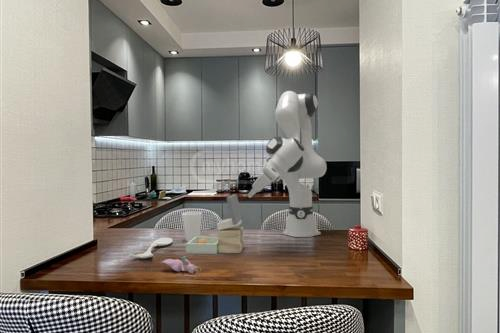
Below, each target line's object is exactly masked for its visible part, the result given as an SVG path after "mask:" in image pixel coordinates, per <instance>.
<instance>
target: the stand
mask: <svg viewBox="0 0 500 333" xmlns="http://www.w3.org/2000/svg"><path fill="white" fill-rule="evenodd" d="M217 237H218V253H220V254H221V253H222V254H241V253H242V251H243V249H244V226H235V227H230V228H226V229H222V230H218V231H217ZM218 253H217V254H218Z"/></svg>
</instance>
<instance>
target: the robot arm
mask: <svg viewBox="0 0 500 333" xmlns="http://www.w3.org/2000/svg"><path fill="white" fill-rule="evenodd" d="M318 103H319V102H318V99H317V96H316V95H315V93H313V92H305V93H299V94H297V93H296V92H295V91H292V90H286V91H284V92H283V93H282V94H281V96H280V97H279V99H278V100H277V101H276V103H275V112H274V116H275V117H274V118H275V121H276V124H277V125H278V126H279V127H280V129H281V130H282V131H283V133H284V134H285V136H286V137H287V138H284V137H282V136H275V137H272V138H271V139H270V140H269V141H268V142H267V143H266V146H265V151H266V153H267V155H268V156H269V157H270V159H269V160H268V161H267V162H266V163H265V164H263V166H262V171H261V173H260V175H259V176H258V177H257V178H256V179H255V181H254V182H253V184H252V186H251V187H252V188H251V189H250V191H249V192H248V193H247V194H246V196H247V197H248V198H252V197H253V196H254V195H255V194H256V193H259V192H261V191H262V190H263V189H265V188H266V187H267V186H269V185H270V183H275V182H277V183H278V182H279V181H280V180H282V181H283V183H284V184H285V185H286V187H287V190H288V196H289V206H288V216H287V217H286V218H285V223H286V224H285V227H286V228H285V230H283V231H282V235H284V236H290V237H294V238H296V237H297V238H311V237H314V236H319V235H320V236H321V235H322V234H321V231H319V230H318V228H317V226H318V225H317V217H315V215H314V206H313V192H312V190H311V189H310V187H308V186H306V185H304V184H302V183H301V181H300V179H317V178H321V177H323V176H324V175H325V174H326V172H327V169H328V168H327V162H326V160H325V159H324V158H323V157H321V156H320V155H318V153H316V151H315V149H314V147H313V140H312V138H313V137H312V136H313V135H312V134H313V131H312V130H313V129H312V122H311V118H312V117H313V116H314V114H315V113H316V111H317V109H318V106H319V105H318Z"/></svg>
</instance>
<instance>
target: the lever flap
mask: <svg viewBox="0 0 500 333" xmlns="http://www.w3.org/2000/svg"><path fill="white" fill-rule="evenodd" d="M226 202H227V206H228V209H229V210H228V211H229V215H230V218H227V219H221V220H219V222H218V223H216V226H217V230H218V231H219V230H222V229H226V228H230V227H240V225H241V224H242V223H243V221H242V219H243V215H242V209H241V207H240V202H239V198H238V194H237V193H235V194H231V195H230V196H227V197H226Z"/></svg>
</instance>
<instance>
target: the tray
mask: <svg viewBox="0 0 500 333" xmlns="http://www.w3.org/2000/svg"><path fill="white" fill-rule="evenodd" d="M200 239H205V240H206V242H207V244H203V243H198V241H199V240H200ZM185 254H187V255H188V254H197V255H199V254H200V255H201V254H204V255H217V254H218V236H200V237H194V238H193V239H192V240H190V241H187V242H186V243H185Z"/></svg>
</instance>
